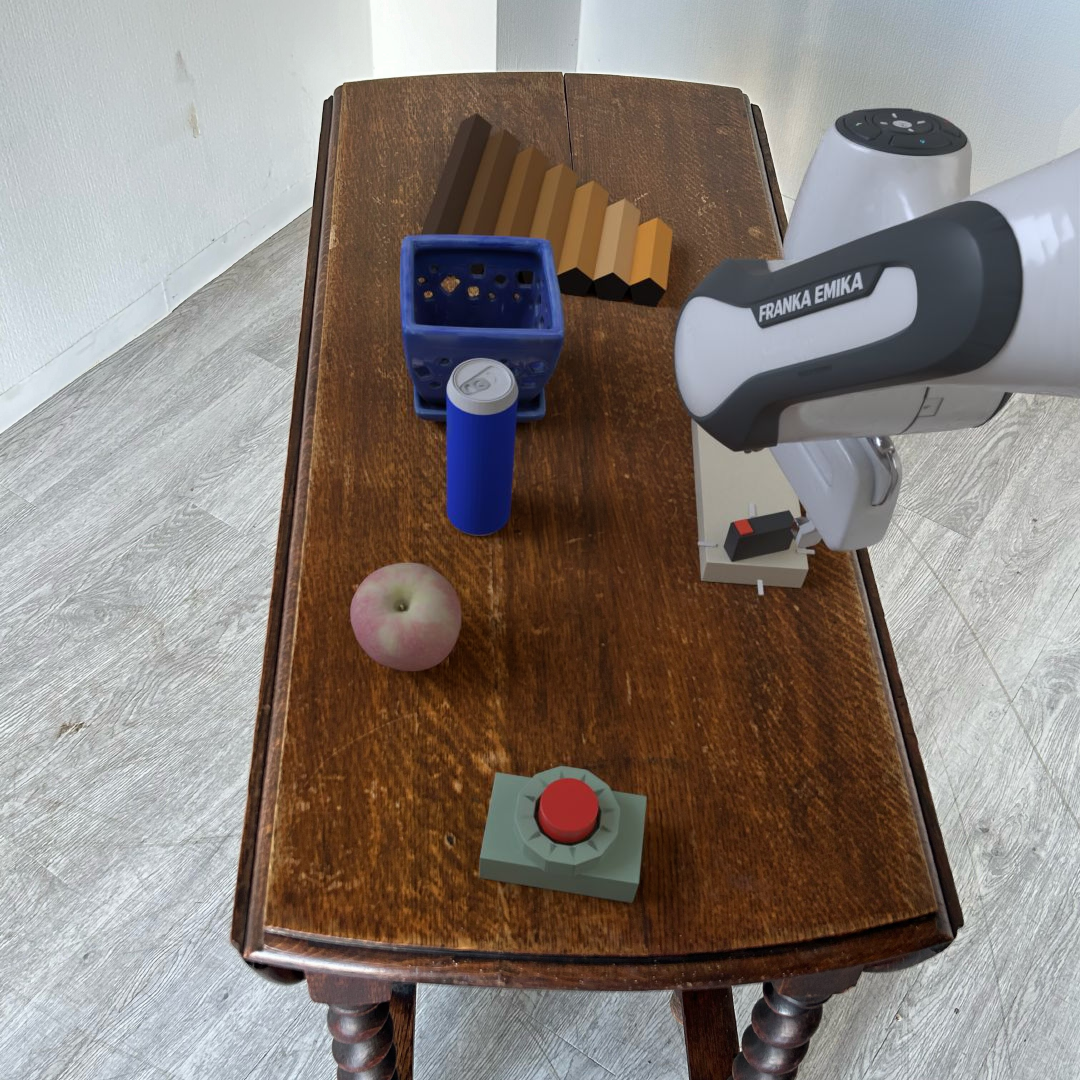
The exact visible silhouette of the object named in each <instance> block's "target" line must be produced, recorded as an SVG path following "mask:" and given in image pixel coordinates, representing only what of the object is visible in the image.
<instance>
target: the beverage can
mask: <svg viewBox="0 0 1080 1080" xmlns="http://www.w3.org/2000/svg"><path fill="white" fill-rule="evenodd" d="M517 403H518V386H517V383H516V381H515V378H514V375H513V373H512V372H511V370H510V369H509V368H508V367H506V366H505V365H504V364H502V363H500V362H498V361H495V360H492V359H485V358H476V359H471V360H467V361H465V362H463V363H461V364H459V365H458V366H457V367H456V368H455V369H454V371H453V372H452V375H451V377H450V379H449V381H448V384H447V422H446V514H447V518H448V520H449V521H450V523H451V524H452V526H453V527H455V528H456V529H457V530H459V531H460V532H462V533H464V534H466V535H470V536H474V537H485V536H489V535H492V534H494V533H496V532H498V531H499V530H501V529H503V528H504V526H505V525H507V523H508V521H509V519H510V517H511V509H512V493H513V479H514V477H513V476H514V463H515V462H514V461H515V447H516V446H515V445H516V433H517V422H516V418H517Z"/></svg>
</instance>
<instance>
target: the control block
mask: <svg viewBox="0 0 1080 1080" xmlns="http://www.w3.org/2000/svg"><path fill="white" fill-rule="evenodd" d="M562 778H574V779H578V780H580V781H582V782H584V783H586V784H587V785H588V786H590V788H591V789H592V790H593V791H594V793H595V794H596V797H597V800H598V813H597V818H596V822H595V825H594V828H593V830H592V831H591V833H590V834H589V835H588V836H587V837H586V838H584V839H582V840H580V841H578V842H573V843H563V842H559V841H556V840H554V839H553V838H551V837H550V836H548V835H547V834H546V833H545V831H544V830H543V829H542V827H541V824H540V822H539V807H540V800H541V796H542V793H543V792H544V790H545V789H546V787H547V786H548V785H549V784H551V783H552V782H554V781H556V780H558V779H562ZM491 791H492V792H491V796H490V801H489V807H488V811H487V817H486V823H485V829H484V833H483V838H482V843H481V849H480V855H479V867H478V878H479V879H484V880H490V881H495V882H502V883H508V884H514V885H520V886H525V887H526V886H527V887H533V888H540V889H545V890H551V891H557V892H562V893H568V894H573V895H574V894H576V895H582V896H587V897H593V898H600V899H605V900H611V901H617V902H624V903H629V904H633V902H634V899H635V896H636V894H637V890H638V887H639V884H640V878H641V877H640V875H641V866H642V853H643V843H644V835H645V834H644V831H645V821H646V810H647V801H648V800H647V799H648V797H647V795H641V794H635V793H629V792H622V791H617V790H612V788H611V786H609V785H608V783H606V782H605V781H603V780H602V779H601V778H599V777H598V776H597V775H595V774H593V773H592V772H591V771H590V770H589V769H584V768H578V767H572V766H566V765H560V766H556V767H553V768H550V769H547V770H544V771H541V772H538V773H535V774H534V775H533V776H532V777H529V776H524V775H516V774H510V773H504V772H496V771H495V775H494V781H493V785H492V790H491Z"/></svg>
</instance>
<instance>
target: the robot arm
mask: <svg viewBox="0 0 1080 1080" xmlns="http://www.w3.org/2000/svg"><path fill="white" fill-rule="evenodd" d="M972 161H973V149H972V144H971V141H970V139H969V138H968V136H967V135H966V134H965V132H964V131H963V130H962V129H961V128H959V127H958V126H957V125H955V124H954V123H953V122H952V121H950V120H948V119H946V118H945V117H942V116H940V115H938V114H934V113H932V112H925V111H921V110H918V109H917V110H916V109H912V108H907V107H878V108H863V109H855V110H853V111H851V112H848V113H845V114H843V115H841V116H839V117H837V118H836V119H835V120H833V122H832V123H831V124H830V125H829V126H828V127H827V129H826V131H825V132H824V134H823V136H822V137H821V139H820V141H819V143H818V145H817V147H816V149H815V150H814V153H813V155H812V157H811V159H810V161H809V164H808V166H807V168H806V171H805V174H804V175H803V179H802V181H801V183H800V186H799V189H798V192H797V195H796V198H795V201H794V204H793V207H792V210H791V213H790V217H789V220H788V222H787V223H788V224H787V226H786V230H785V234H784V238H783V243H782V256H783V257H782V258H783V259H769V260H768V259H766V257H765V258H764V257H763V258H762V257H761V258H760V257H756V258H755V257H751V258H750V257H745V258H744V257H741V258H740V257H736V258H735V257H727V258H724V259H723V260H721V261H720V262H719V263H718V264H717V265H716V266H714V268H712V269H711V270H710V271H709V272H708V273H707V274H706V275H705V276H704V277H703V278H702V279H701V280H700V281H699V283H698V284H697V285H696V286H695V287H694V288H693V290H692V291H691V293H690V294H689V295H688V296H687V297H686V299H685V301H684V302H683V304H682V305H681V308H680V310H679V313H678V315H677V316H678V317H677V320H676V324H675V329H674V336H673V350H672V352H673V355H672V356H673V359H672V360H673V372H674V378H675V384H676V389H677V392H678V395H679V399H680V401H681V404H682V406H683V408H684V410H685V411H686V413H687V414H688V416H689V417H690V418H691V419H692V418H693V420H694V421H695V422H696V423H697V424H698V425H699V426H700V427H701V428H703V429H704V430H705V431H706V432H707V433H708V434H709V435H710V436H712V437H713V438H714V439H716V440H717V441H719V442H720V443H721V444H722V445H724V446H725V447H727V448H729V449H730V450H732V451H733V452H740V451H744V453H745V454H750V453H751V452H752V451H753V452H759V451H761V450H763V449H764V448H769V450H770V452H771V453H772V455H773V457H774V458H775V460H776V462H777V464H778V465H779V467H780V469H781V470H782V472H783V474H784V475H785V477H786V479H787V480H788V482H789V484H790V485H791V487H792V489H793V490H794V492H795V494H796V495H797V497H798V499H799V503H800V504H801V506H802V507H803V509H804V510H805V516H801V517H798V518H794V520H793V523H792V528H790V533H791V535H792V537H793V539H794V540H795V542H796V544H797V546H798V547H799V548H805V547H806V548H809V547H814V546H816V545H817V544H819V543H820V542H821V541H823V542H824V544H825V546H826V547H827V548H828V550H830V551H832V552H851V551H857V550H861V549H865V548H869V547H872V546H875V545H877V544H879V543H880V542H882V541H883V539H884V538H885V536H886V535H887V531H888V529H889V527H890V523H891V521H892V518H893V515H894V512H895V509H896V506H897V502H898V498H899V495H900V491H901V487H902V480H903V465H902V462H901V458H900V456H899V453H898V451H897V450H896V446H895V444H894V442H893V440H892V439H891V437H892V436H903V435H904V436H905V435H917V434H919V435H920V434H932V433H942V432H951V431H959V430H965V429H969V428H970V429H976V428H980V427H982V426H984V425H986V424H987V423H988V422H989V421H991V420H992V419H993V418H995V416H996V415H998V414H999V413H1000V412H1001V411H1002V409H1003V408H1005V406H1006V404H1007V403H1008V402H1009V400H1010V399H1011V398H1012V395H1013V394H1025V395H1034V396H1035V395H1036V396H1047V397H1057V398H1067V399H1079V400H1080V147H1078V148H1076V149H1074V150H1072V151H1070V152H1068V153H1065V154H1063V155H1060V156H1059V157H1057V158H1054V159H1052V160H1050V161H1047V162H1045V163H1042V164H1040V165H1038V166H1035V167H1033V168H1030V169H1028V170H1026V171H1024V172H1021V173H1019V174H1016V175H1014V176H1011V177H1009V178H1006V179H1004V180H1002V181H999V182H997V183H995V184H992V185H990V186H987V187H986V188H982V189H981V190H979V191H977V192H973V193H972V194H971V175H972ZM890 436H891V437H890Z"/></svg>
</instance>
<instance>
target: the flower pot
mask: <svg viewBox="0 0 1080 1080" xmlns="http://www.w3.org/2000/svg"><path fill="white" fill-rule="evenodd" d="M476 264H483V265H484V268H483V272H482V273H481V275H480V274H473V273H472V271H471V266H472V265H476ZM432 266H436V269H432V268H431V267H432ZM519 271H520V272H521V271H532V272H533V282H532V284H525V283H520V281H519V275H517V274H518V272H519ZM498 275H502V276H504V277H505V278H506V280H505V282H504V283H503V284H499V283H498V282H496V281H495V278H496V277H497V276H498ZM449 276H452V277H454V278H455V277H456V278H457V279H458V281H459V283H458V284H457V285H456V286H455V287H454V289H453V290H451V291H448V290H446V289H445V287H443V286H442V283H443V282H444V281H445V280H446V279H447V278H448V277H449ZM456 278H455V279H456ZM420 279H423V281H420ZM474 287H475V288H477V290H478V294H476V295H470V293H469V288H474ZM428 292H430V293H431V296H427V297H426V295H425V293H428ZM490 294H492V295H493V296H494V297H491V296H490ZM516 295H518V298H517V297H516ZM399 304H400V305H399V306H400V307H399V308H400V327H401V336H402V337H401V338H402V345H403V351H404V357H405V362H406V368H407V371H408V374H409V377H410V379H411V382H412V384H413V407H414V412H415V415H416V416H417V418H419V419H421V420H423V421H426V422H427V421H428V422H446V423H447V384H448V381H449V379H450V377H451V375H452V372H453V371H454V369H455V368H456V367H457V366H458V365H459V364H461V363H463V362H465V361H467V360H471V359H476V358H485V359H492V360H495V361H498V362H500V363H502V364H504V365H505V366H506V367H508V368H509V369H510V370H511V372H512V373H513V375H514V378H515V381H516V383H517V386H518V403H517V418H516V423H533V422H537V421H540V420H542V419H543V418H544V417H545V416H546V412H547V411H546V407H547V406H546V394H545V393H546V391H545V387H546V386H547V385H548V382H549V381H550V379H551V378H552V376H553V374H554V372H555V369H556V368H557V365H558V362H559V359H560V356H561V354H562V350H563V346H564V341H565V336H566V335H565V332H566V330H565V329H566V328H565V315H564V307H563V301H562V293H561V287H560V284H559V280H558V277H557V273H556V267H555V261H554V255H553V249H552V245H551V243H550V241H549V240H546V239H541V238H528V237H511V236H484V235H420V234H414V235H413V234H411V235H406V236H404V237H403V239H402V242H401V248H400V258H399Z"/></svg>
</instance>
